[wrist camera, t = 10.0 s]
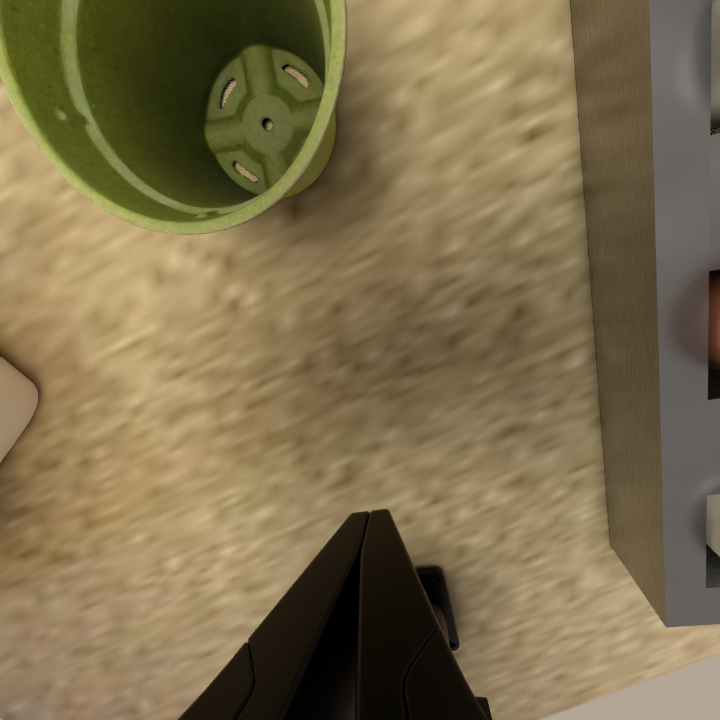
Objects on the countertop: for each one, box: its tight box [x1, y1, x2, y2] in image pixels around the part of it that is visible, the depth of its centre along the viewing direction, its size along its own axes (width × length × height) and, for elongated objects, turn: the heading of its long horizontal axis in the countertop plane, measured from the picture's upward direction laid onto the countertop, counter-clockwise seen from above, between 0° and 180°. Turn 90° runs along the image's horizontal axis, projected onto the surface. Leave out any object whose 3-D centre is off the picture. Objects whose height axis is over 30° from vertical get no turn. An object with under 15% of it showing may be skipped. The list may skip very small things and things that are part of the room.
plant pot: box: [0, 0, 347, 235], centre depth 14 cm, size 9×9×9 cm
